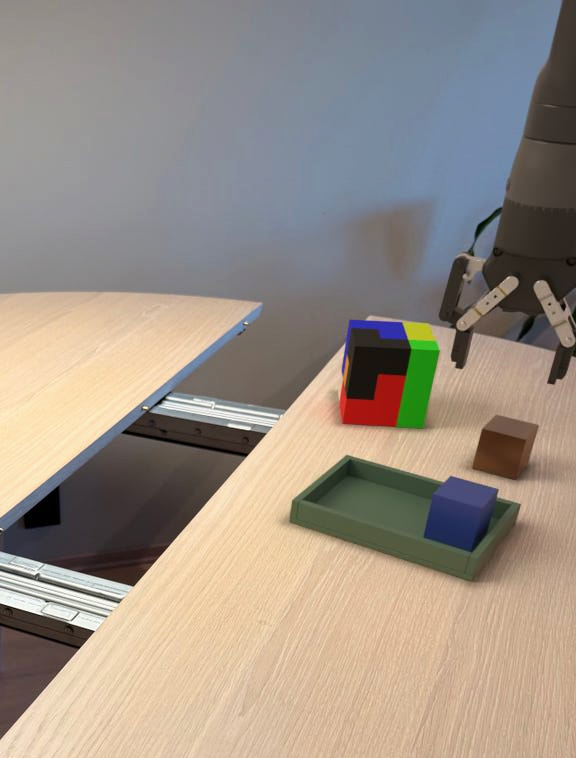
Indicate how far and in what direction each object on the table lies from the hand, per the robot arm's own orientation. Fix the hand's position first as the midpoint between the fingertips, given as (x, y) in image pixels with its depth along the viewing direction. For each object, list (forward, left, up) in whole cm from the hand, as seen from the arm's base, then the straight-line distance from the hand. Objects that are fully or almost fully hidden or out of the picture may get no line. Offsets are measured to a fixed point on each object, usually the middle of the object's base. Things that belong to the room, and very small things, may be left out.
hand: (505, 374), depth 95 cm
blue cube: (0, +5, -15) cm, 16 cm away
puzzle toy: (+19, -22, -16) cm, 33 cm away
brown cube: (+1, -15, -16) cm, 22 cm away
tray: (+5, +5, -16) cm, 18 cm away
